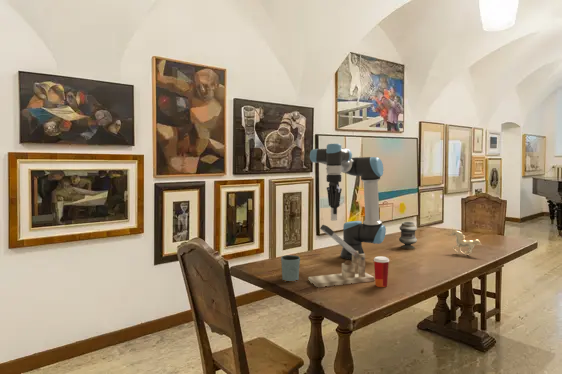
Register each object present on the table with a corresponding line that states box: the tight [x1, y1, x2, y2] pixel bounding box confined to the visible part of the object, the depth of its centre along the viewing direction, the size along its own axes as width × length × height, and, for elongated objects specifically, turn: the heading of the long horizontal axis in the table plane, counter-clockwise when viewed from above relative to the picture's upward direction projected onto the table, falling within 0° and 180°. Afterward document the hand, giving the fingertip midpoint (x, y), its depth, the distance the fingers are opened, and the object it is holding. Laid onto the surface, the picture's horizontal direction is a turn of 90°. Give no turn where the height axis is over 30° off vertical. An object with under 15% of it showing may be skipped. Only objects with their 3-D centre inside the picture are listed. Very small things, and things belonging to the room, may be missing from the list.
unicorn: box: [450, 227, 482, 256], centre depth 260 cm, size 20×4×17 cm, turn 45°
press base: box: [307, 251, 375, 288], centre depth 208 cm, size 32×12×14 cm, turn 108°
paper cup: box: [373, 256, 390, 288], centre depth 199 cm, size 8×8×14 cm
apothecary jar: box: [398, 221, 418, 250], centre depth 284 cm, size 12×12×18 cm
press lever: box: [319, 224, 359, 259], centre depth 207 cm, size 27×6×3 cm
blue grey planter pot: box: [280, 254, 301, 282], centre depth 211 cm, size 10×10×12 cm
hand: (333, 220), depth 205 cm, fingers closed
